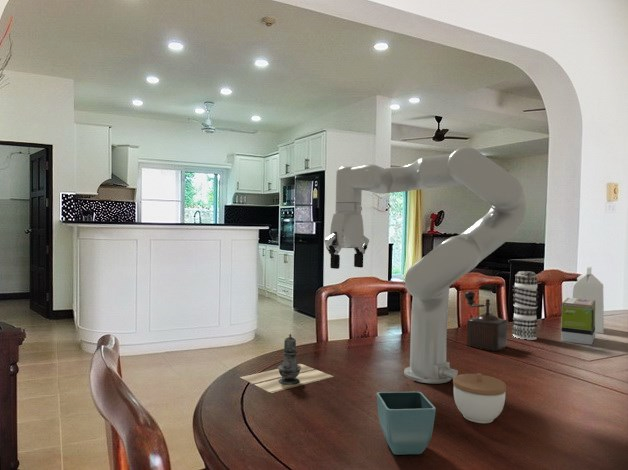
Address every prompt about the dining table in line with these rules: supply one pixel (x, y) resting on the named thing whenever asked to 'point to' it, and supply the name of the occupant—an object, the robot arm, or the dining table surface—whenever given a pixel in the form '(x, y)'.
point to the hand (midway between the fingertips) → (346, 267)
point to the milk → (591, 296)
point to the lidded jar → (479, 397)
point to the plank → (304, 379)
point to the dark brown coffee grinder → (485, 328)
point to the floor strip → (271, 375)
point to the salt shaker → (289, 363)
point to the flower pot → (406, 421)
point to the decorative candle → (525, 305)
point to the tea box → (578, 321)
